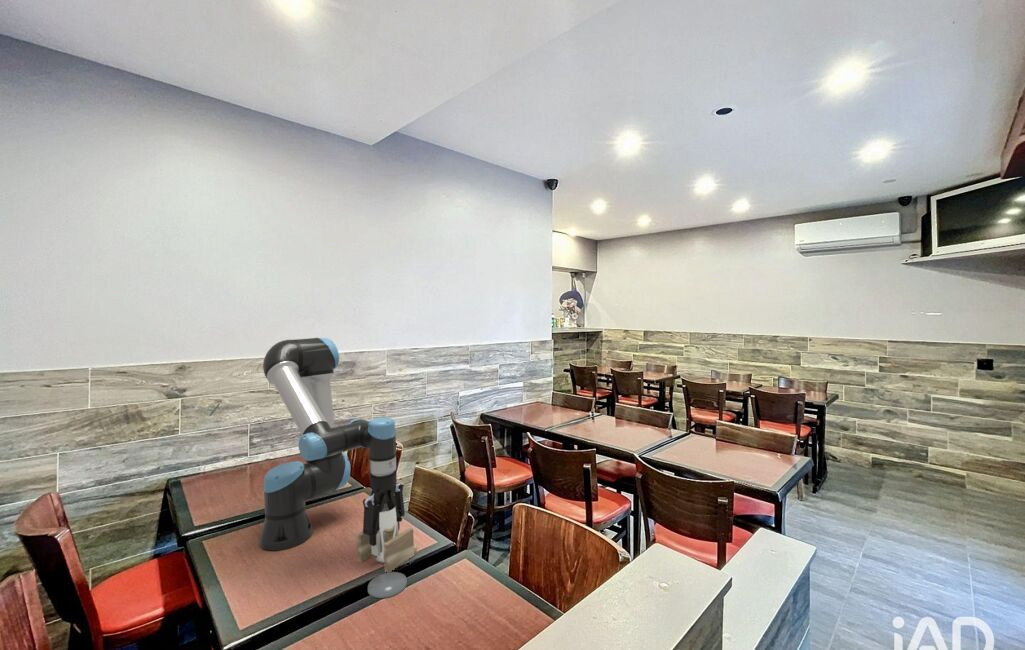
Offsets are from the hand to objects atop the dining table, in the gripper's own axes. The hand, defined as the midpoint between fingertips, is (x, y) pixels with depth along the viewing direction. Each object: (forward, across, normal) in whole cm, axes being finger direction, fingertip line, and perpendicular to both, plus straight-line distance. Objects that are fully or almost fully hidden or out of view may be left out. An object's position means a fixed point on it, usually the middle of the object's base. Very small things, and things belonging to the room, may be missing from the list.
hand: (385, 548), depth 126 cm
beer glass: (+3, 0, 0) cm, 3 cm away
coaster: (+3, -9, -10) cm, 14 cm away
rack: (+3, 0, 0) cm, 3 cm away
